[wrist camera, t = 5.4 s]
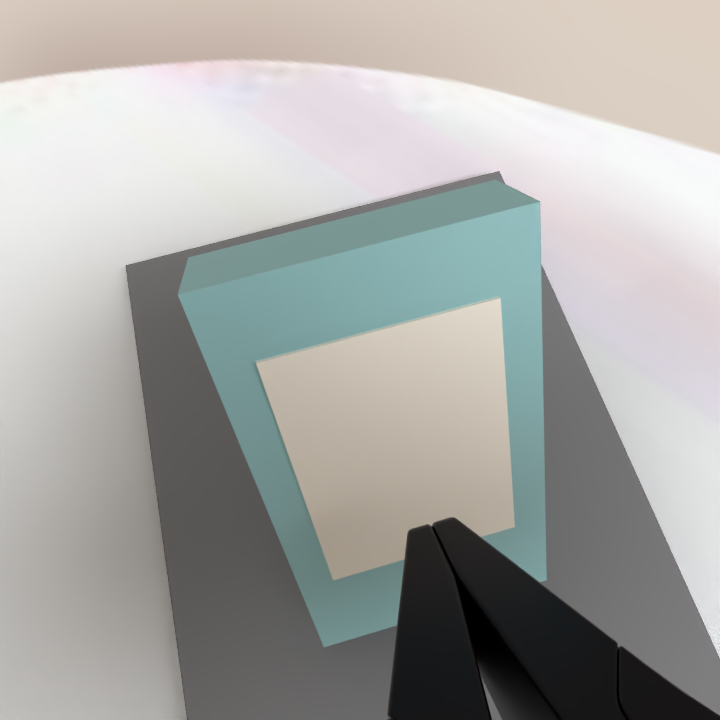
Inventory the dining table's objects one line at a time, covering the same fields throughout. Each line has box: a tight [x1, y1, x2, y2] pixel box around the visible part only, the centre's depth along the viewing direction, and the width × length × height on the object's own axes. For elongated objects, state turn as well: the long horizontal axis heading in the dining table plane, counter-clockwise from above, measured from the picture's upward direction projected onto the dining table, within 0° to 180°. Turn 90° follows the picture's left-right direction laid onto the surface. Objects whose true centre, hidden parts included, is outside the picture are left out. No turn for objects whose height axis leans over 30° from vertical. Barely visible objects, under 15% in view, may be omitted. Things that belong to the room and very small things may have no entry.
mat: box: [126, 171, 720, 720], centre depth 16 cm, size 18×14×1 cm
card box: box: [178, 180, 547, 647], centre depth 12 cm, size 2×6×10 cm
